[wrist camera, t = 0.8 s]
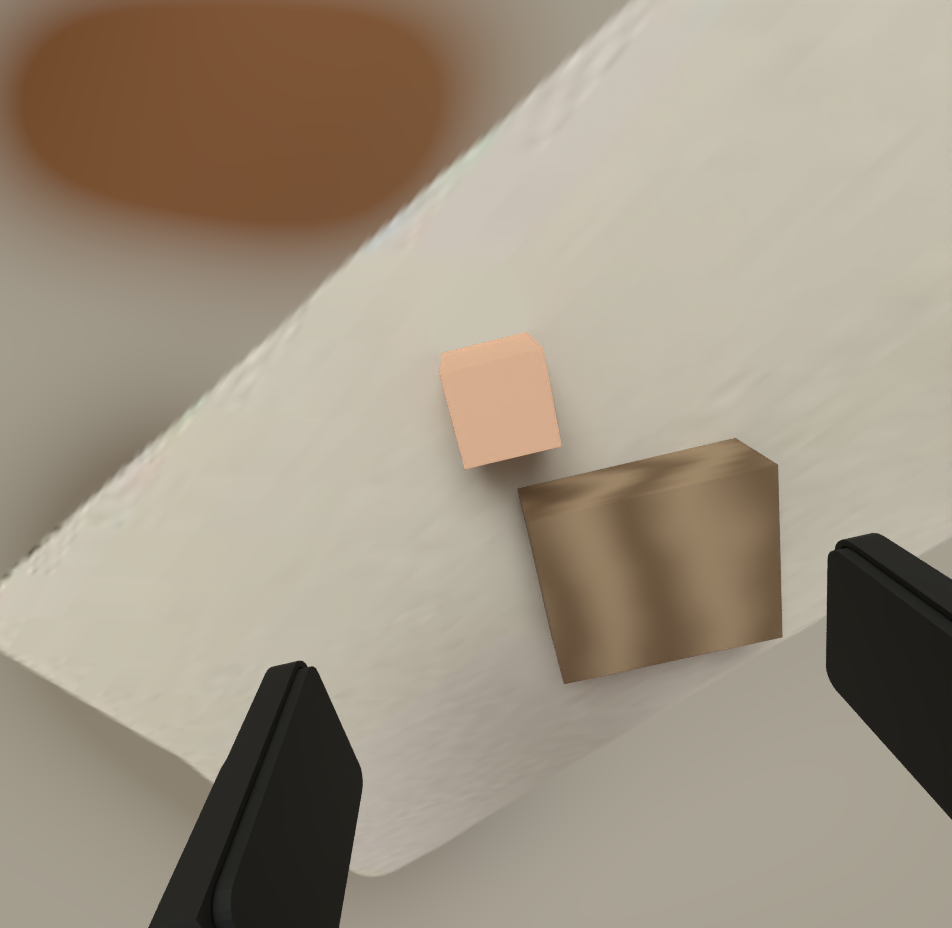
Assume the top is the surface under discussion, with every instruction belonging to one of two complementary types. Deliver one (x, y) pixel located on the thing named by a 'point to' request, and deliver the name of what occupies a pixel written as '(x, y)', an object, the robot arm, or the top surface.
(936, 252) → the top surface
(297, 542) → the top surface
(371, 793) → the top surface
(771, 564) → the walnut plinth
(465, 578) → the top surface
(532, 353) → the peach block
